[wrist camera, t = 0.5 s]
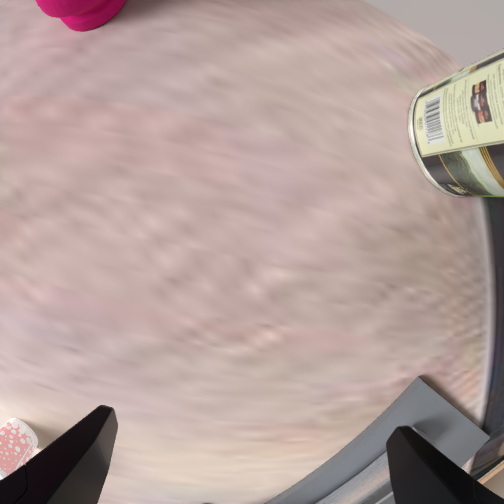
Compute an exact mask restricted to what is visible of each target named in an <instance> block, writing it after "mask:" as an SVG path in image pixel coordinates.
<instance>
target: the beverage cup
mask: <svg viewBox="0 0 504 504" xmlns="http://www.w3.org/2000/svg"><path fill="white" fill-rule="evenodd" d="M37 445H38V439H37V436H36V435H35V433H34V432H33V430H32V429H31V428H30V427H29V426H28V425H27V424H25V423H24V422H23V421H21V420H19V419H18V418H11V419H10V420H9V421H8V422H6V423H5V424H4V425H3V426H2V427H1V428H0V480H1V479H3V478H5V477H6V476H8V475H9V474H11V473H12V472H14V471H15V470H17V469H18V468H19V467H21V466H22V465H23V464H25V463H26V462H27V461H29V459H30V457H31V455H32V454H33V452H34V450H35V448H36V447H37Z"/></svg>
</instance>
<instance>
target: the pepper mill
mask: <svg viewBox="0 0 504 504" xmlns="http://www.w3.org/2000/svg"><path fill="white" fill-rule="evenodd" d="M36 2H37V4H38V6H39V7H40V8H41V9H42V11H43V12H44V13H45V14H47V15H49V16H51V17H57V18H60V19H61V20H62V21H63V22H64V23H65V24H66V25H67V26H68V27H69V28H70V29H72V30H75V31H87V30H91V29H94V28H96V27H99V26H100V25H102V24H104V23H106V22H107V21H109V20H110V19H111V18H112V17H114V16H115V15H116V14H117V13H118V12H119V11H120V9H121V8H122V7H123V5H124V3H125V2H126V0H36Z"/></svg>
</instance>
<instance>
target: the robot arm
mask: <svg viewBox="0 0 504 504" xmlns="http://www.w3.org/2000/svg"><path fill="white" fill-rule="evenodd" d="M117 429H118V423H117V419H116V415H115V411H114V409H113V408H112V407H109V406H105V405H100V406H98V407H97V408H96V409H95V410H93V411H92V412H91V413H89V414H88V415H87V416H86V417H84V418H83V419H82V420H81V421H79V422H78V423H77V424H75V425H74V426H73V427H72V428H70V429H69V430H68V431H67V432H65V433H64V434H63V435H61V436H60V437H59V438H57V439H56V440H55V441H54V442H52V443H51V444H50V445H48V446H47V447H46V448H44V449H43V450H42V451H41V452H39V453H38V454H37V455H35V456H34V457H33V458H31V459H30V460H29V461H27V462H26V463H25V464H23V465H22V466H21V467H19V468H18V469H17V470H15V471H14V472H12V473H11V474H9V475H8V476H6V477H5V478H3V479H1V480H0V504H97V503H98V500H99V497H100V494H101V491H102V488H103V485H104V482H105V479H106V476H107V473H108V470H109V466H110V461H111V457H112V452H113V447H114V443H115V438H116V434H117ZM386 450H387V458H388V466H389V474H390V481H391V486H392V491H393V495H394V500H395V504H504V499H503V498H501V497H500V496H498V495H496V494H495V493H493V492H492V491H490V490H489V489H487V488H486V487H484V486H483V485H482V484H481V483H479V482H478V481H477V480H475V479H474V478H473V477H472V476H470V475H469V474H468V473H466V472H465V471H464V470H463V469H461V468H460V467H459V466H458V465H456V464H455V463H454V462H453V461H451V460H450V459H449V458H448V457H446V456H445V455H444V454H443V453H441V452H440V451H439V450H438V449H437V448H435V447H434V446H433V445H432V444H430V443H429V442H428V441H427V440H426V439H424V438H423V437H422V436H421V435H419V434H418V433H417V432H416V431H415V430H413V429H412V428H411V427H410V426H408V425H403V426H398V427H396V428H395V430H394V431H393V432H392V434H391V435H390V437H389V438H388V440H387V442H386Z"/></svg>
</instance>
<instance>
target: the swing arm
mask: <svg viewBox="0 0 504 504" xmlns="http://www.w3.org/2000/svg"><path fill="white" fill-rule="evenodd" d="M412 429H413V430H415V431H416V432H417V433H418V434H419V435H421V436H422V437H423V438H424V439H426V440H427V441H428V442H429V443H430V444H432V445H433V446H434V447H435V448H437V449H438V450H439V451H440V452H441V453H442V451H441V450H440V449H439V447H438V446H437V445H436V443H435V442H434V441H433V440H432V438H431V437H430V436H428V435H427V434H425V433H423V432H422V431H420V430H418V429H417V428H415V427H412ZM392 494H393V491H392V486H391V481H390V474H389V466H388V458H387V451H386V452H385V453H384V454H383V455H381V456H380V457H379V458H378V459H377V460H375V461H374V462H373V463H372V464H370V465H369V466H368V467H367V468H365V469H364V470H363V471H362V472H360V473H359V474H358V475H356V476H355V477H354V478H352V479H351V480H350V481H348V482H347V483H345V484H344V485H343V486H341V487H340V488H338V489H337V490H335V491H334V492H332V493H331V494H330V495H328V496H326V497H325V498H323V499H322V500H320V501H319V502H317V503H316V504H380V503H381V502H383V501H384V500H385V499H387V498H388V497H390V496H391V495H392Z"/></svg>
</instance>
